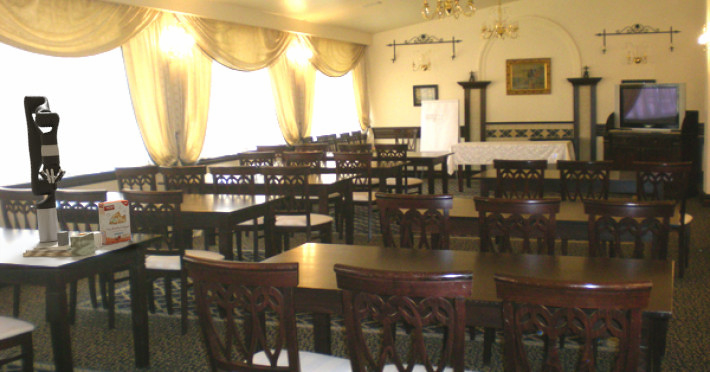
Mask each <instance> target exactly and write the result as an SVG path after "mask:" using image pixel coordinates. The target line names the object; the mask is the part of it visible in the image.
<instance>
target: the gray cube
mask: <svg viewBox="0 0 710 372" xmlns="http://www.w3.org/2000/svg"><path fill="white" fill-rule="evenodd" d="M69 235H70V234H69V230H65V231H64V230H62V231H59V233H57V240H56V241H57V244H54V245H51V246H49V247H50V250H68V249H70V248H71V243H70V236H69Z"/></svg>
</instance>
